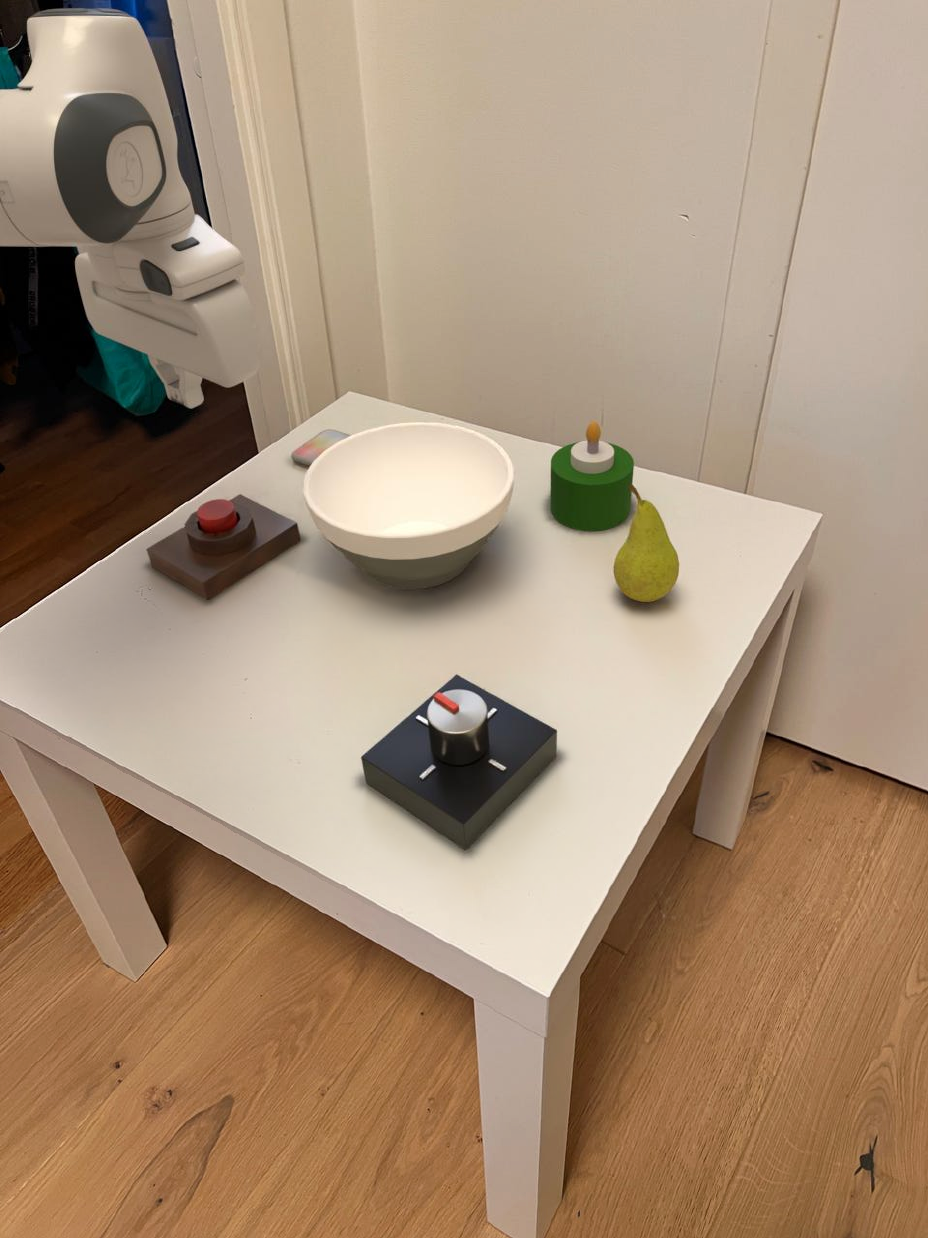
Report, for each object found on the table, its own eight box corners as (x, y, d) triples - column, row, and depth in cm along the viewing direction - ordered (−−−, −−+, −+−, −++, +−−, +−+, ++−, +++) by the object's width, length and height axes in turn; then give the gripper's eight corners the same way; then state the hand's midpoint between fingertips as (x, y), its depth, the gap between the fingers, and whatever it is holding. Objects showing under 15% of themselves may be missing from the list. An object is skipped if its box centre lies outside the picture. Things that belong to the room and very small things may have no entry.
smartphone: (327, 426, 112) (431, 457, 105) (328, 433, 112) (432, 464, 106) (286, 454, 107) (392, 488, 100) (287, 461, 108) (393, 496, 101)
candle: (586, 541, 93) (590, 453, 87) (534, 505, 99) (533, 420, 92) (647, 510, 97) (655, 424, 90) (593, 477, 102) (596, 393, 96)
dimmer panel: (465, 850, 67) (463, 823, 65) (365, 782, 72) (360, 755, 70) (556, 756, 73) (557, 728, 71) (458, 699, 78) (456, 672, 76)
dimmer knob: (501, 741, 70) (499, 706, 68) (459, 775, 68) (456, 740, 65) (459, 712, 73) (456, 677, 70) (418, 744, 70) (413, 709, 68)
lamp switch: (207, 600, 89) (198, 567, 87) (151, 566, 94) (140, 533, 91) (301, 540, 96) (294, 507, 93) (244, 510, 101) (236, 479, 98)
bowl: (549, 530, 95) (550, 448, 89) (450, 647, 83) (443, 561, 76) (389, 483, 103) (380, 405, 97) (277, 583, 91) (258, 501, 85)
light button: (216, 539, 91) (212, 524, 90) (193, 526, 93) (189, 511, 91) (245, 521, 93) (241, 506, 92) (222, 509, 95) (218, 494, 93)
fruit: (687, 604, 85) (703, 493, 78) (631, 623, 84) (641, 512, 76) (653, 569, 90) (665, 461, 82) (599, 587, 88) (606, 477, 80)
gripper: (39, 232, 78) (91, 384, 88) (190, 284, 68) (231, 450, 77) (104, 211, 82) (147, 359, 91) (256, 257, 71) (288, 419, 81)
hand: (186, 401), depth 84 cm, fingers closed
